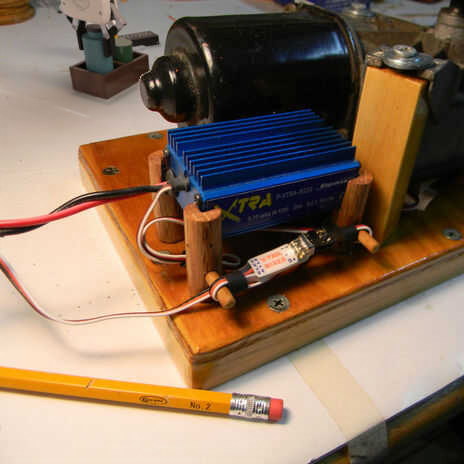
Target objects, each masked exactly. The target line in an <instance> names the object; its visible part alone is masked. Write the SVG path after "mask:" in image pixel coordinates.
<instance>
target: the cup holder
mask: <svg viewBox="0 0 464 464" xmlns="http://www.w3.org/2000/svg"><path fill="white" fill-rule="evenodd" d="M149 56H150V55H149V54H148V53H144V52H141V51H137V50H134V49H133V58H134V60H132V61H130V62H128V63H126V64H125V63H121V62H118V61H114V60H113V68H114V70H112V71H110V72H108V73H106V74H104V75H102V74H98V73H95V72H91V71H88V70H87V67H86V60H85V59H84V60H81V61H80V62H77V63H75V64H73V65H70V66H68V70H69V76H70V79H71V85H72V90H73V91H77V92H81V93H84V94H86V95H90V96H93V97H97V98H101V99H104V100H110V99H111V98H113V97H115V96H117V95H118V94H120V93H122V92H124V91H125V90H128V88H131V87H132V86H134V85H136V84H137V83H139V82H140V81H139V79H140V76H141V75H142V74H144V73H146V72H148V71H151V70H150V59H149ZM138 81H139V82H138Z"/></svg>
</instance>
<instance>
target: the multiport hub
mask: <svg viewBox="0 0 464 464" xmlns="http://www.w3.org/2000/svg"><path fill="white" fill-rule="evenodd" d="M118 38H124V39H128V40H130V41H131V42H132V47H133V48H134V47H139V46H143V47H151V46H155V45H159V44H160V36H159V34H158V33H155V32H153V31H151V30H145V31H139V32H134V33H126V34H120V35H118ZM157 42H158V43H157Z"/></svg>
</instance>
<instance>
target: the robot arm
mask: <svg viewBox="0 0 464 464" xmlns="http://www.w3.org/2000/svg"><path fill="white" fill-rule="evenodd" d="M60 1H61V2H60V4H59V5H58V9H59V11H60V12H61V13H62V14H63V15H64V16H65V17H66V20H67V21H68V22H69V23H70V25H71V27H72V30H74V31H75V34H76V39H77V44H78V50H79V51H81V52H84V48H83V41H82V35H83V34H84V33H87V30H86V25H87V22H90V23H94V24H98V25H100V27H101V29H102V32H103V35H104V38H102V43H103V50H104V56H105V57H107V58H108V57H111V56H113V55H115V54H116V44H115V36H116V35H117V33H118V34H119V33H120V32H121V30H122V29H123V28H125V27H126V26H127V25H128V24H127V23H128V22H127V20H126V19H125V17H124V16H123V15H122V13H121V12H120V11H119V7H118V0H60ZM113 20H115V21H116V23H115V24H114V23H113ZM106 24H107V25H108V27H109V30H108V28H107V25H106Z"/></svg>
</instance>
